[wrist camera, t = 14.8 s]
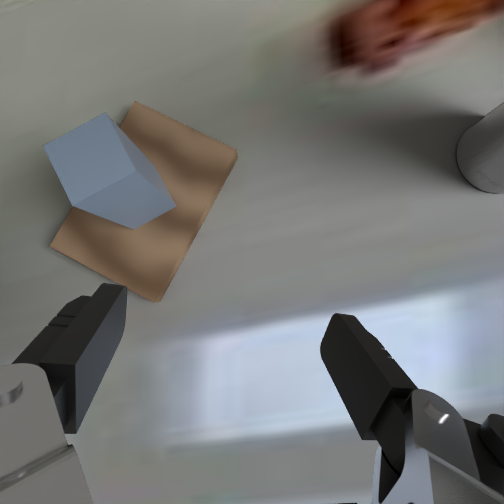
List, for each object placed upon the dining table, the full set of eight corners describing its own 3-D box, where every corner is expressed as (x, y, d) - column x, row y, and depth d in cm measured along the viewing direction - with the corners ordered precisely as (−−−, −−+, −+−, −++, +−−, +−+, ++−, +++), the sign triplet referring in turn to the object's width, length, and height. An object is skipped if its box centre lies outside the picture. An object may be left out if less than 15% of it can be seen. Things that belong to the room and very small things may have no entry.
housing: (112, 188, 31) (42, 145, 21) (154, 166, 31) (105, 112, 21) (133, 229, 30) (72, 205, 20) (176, 206, 30) (136, 170, 20)
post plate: (142, 111, 34) (116, 75, 28) (237, 157, 33) (233, 130, 27) (62, 248, 32) (17, 241, 26) (160, 301, 31) (137, 306, 25)
